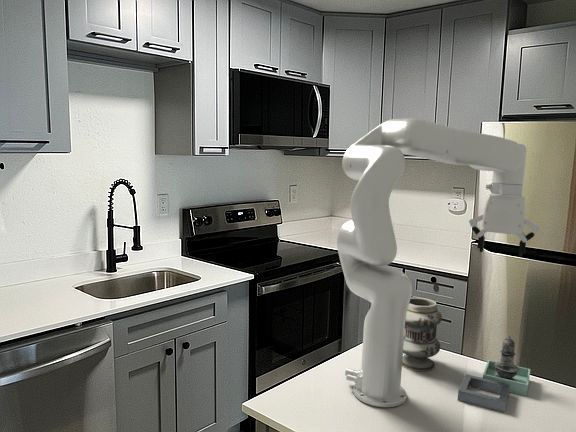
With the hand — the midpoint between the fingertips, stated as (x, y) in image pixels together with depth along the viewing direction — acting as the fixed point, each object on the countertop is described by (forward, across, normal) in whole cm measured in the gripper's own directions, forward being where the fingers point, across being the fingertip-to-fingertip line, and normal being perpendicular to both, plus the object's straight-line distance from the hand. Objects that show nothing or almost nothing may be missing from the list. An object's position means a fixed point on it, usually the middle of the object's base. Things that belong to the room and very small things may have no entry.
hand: (500, 253), depth 133 cm
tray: (+32, +5, -8) cm, 34 cm away
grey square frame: (+32, +1, -19) cm, 37 cm away
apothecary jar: (+32, -18, -9) cm, 38 cm away
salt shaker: (+32, +5, -8) cm, 33 cm away
